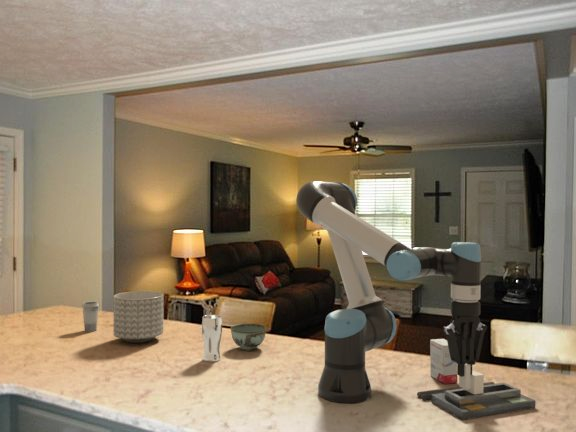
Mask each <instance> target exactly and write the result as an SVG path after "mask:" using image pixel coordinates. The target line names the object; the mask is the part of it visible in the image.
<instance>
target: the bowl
mask: <svg viewBox="0 0 576 432" xmlns="http://www.w3.org/2000/svg"><path fill="white" fill-rule="evenodd" d="M229 330H230V333H231V338H232V340H233V341H234V343H235V345H236V346H238V347H239V349H240V350H241V351H244V352H245V351H246V352H247V351H248V352H250V351H255V350H257V347H259V346H260V345H261V344H262V343H263V342H264V340H265V338H266V333H267V327H266V326H265V325H264V324H261V323H260V324H259V323H241V324H235V325H232V326H231V327H230V329H229Z"/></svg>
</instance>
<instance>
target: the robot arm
mask: <svg viewBox="0 0 576 432" xmlns="http://www.w3.org/2000/svg"><path fill="white" fill-rule="evenodd" d="M295 201H296V207H297V210H298V211H299V213H300V214H301V215H302V216H303V217H304V218H306V219H307V220H308V221H310V222H311V223H313V224H314V225H316V226H321V228H322V229H324V230H326V231H327V234H328V237H329V240H330V243H331V248H332V249H333V250H332V251H333V254H334V256H335V261H336V263H337V267H338V270H339V273H340V277H341V281H342V284H343V286H344V287H343V288H344V290H345V294H346V298H347V301H348V305H347V306H346V308H344V309H337V310H334V311H331V312H329V313H328V314H327V315H326V317H325V322H324V323H325V324H324V327H323V328H324V366H323V369H322V373H321V376H320V379H319V382H318V384H317V385H318V387H317V388H318V389H317V393H318V395H319V396H320V398H323V399H324V400H328V401H329V402H330V401H331V402H335V403H342V404H355V403H356V404H357V403H361V402H364V401H367V400H369V399H370V398H372V385H371V382H370V379H369V376H368V372H367V370H366V353H367V352H369V351H372V350H376V348H377V349H378V348H381V347H384V346H385V345H386V344H388V343H390V342H391V341H392V340H393V339H394V337H395V335H396V334H397V333H396V332H397V327H398V326H397V320H396V318H395V315H394V313H393V312H392V311H391V310H390V309H388V308H387V307H385V305H384V301H383V299H382V298H380V297H379V296H377V295H376V292H375V289H374V286H373V282H372V279H371V276H370V273H369V269H368V267H367V264H366V261H365V257H364V253H365V254H366V255H368V256H369V257H370V258H373V259H374V260H376V261H377V262H379V263H380V264H381V265H382V266H385V267H386V270H387V271H388V274H389V275H390V277H391V278H393V279H395V280H397V281H411V280H414V279H418V278H423V277H428V276H440V277H450V298H451V299H452V300H450V313H451V319H450V324H449V325H447V326H443V327H442V330H443V332H444V335H445V337H446V340H447V343H448V348H449V353H450V358H451V360H452V361H454V362H456V363H457V376H458V386H459V387H461V388H464V389H466V390H467V389H470V375H472V370H473V365H474V366H475V365H476V362H478V361H479V360H480V356H481V353H482V347H483V342H484V336H485V333H486V331H487V329H488V326H487V325H486V324H483V323H482V322H481V319H480V315H481V302H480V301H479V300H481V284H482V283H481V278H482V277H481V276H482V275H481V274H482V273H481V272H482V269H481V268H482V254H481V245H480V244H479V243H478V242H472V241H471V242H469V241H465V242H463V241H454V242H452V243H451V246H450V248H438V247H427V246H421V247H418V246H417V247H413V248H410V247H409V246H407V245H405V244H403V243H401V241H399V240H397V239H395V238H394V237H391V236H390V235H389V234H388V233H386V232H384V231H382V230H380V229H379V228H377V227H376V226H374V225H372V224H371V223H369V222H368V221H366V220H364V219H363V218H361V217H359V216H358V215H357V214H356V211H357V206H358V197H357V194H356V192H355V191H354V190H353V188H352V187H351V186H350V185H348V184H345V183H342V182H339V181H332V182H331V181H319V180H318V181H317V180H315V181H314V180H312V181H308V182H307V183H305V184H303V185H302V186H301V187H300V189H299V190H298V192H297V193H296V199H295Z"/></svg>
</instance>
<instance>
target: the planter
mask: <svg viewBox="0 0 576 432" xmlns="http://www.w3.org/2000/svg"><path fill="white" fill-rule="evenodd" d="M164 302H165V301H164V293H162V292H159V291H152V290H137V291H136V290H135V291H125V292H119V293H116V294H114V295H113V336H114V337H115V338H118V339H121V340H122V341H125V342H127V343H129V344H144V343H147V342H149V341H153V339H155V338H156V337H158V336H160V335H162V334H163V333H164V305H165V304H164Z"/></svg>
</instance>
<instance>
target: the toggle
mask: <svg viewBox="0 0 576 432" xmlns="http://www.w3.org/2000/svg"><path fill="white" fill-rule="evenodd" d="M484 377H485V375H484V374H483V373H481V372H479V371H476V370H475V369H474V370H473V369H472V375H470V389H467V390H466V389H464V390H465V396H469V395H476V394H482V393H483V386H484V383H485V382H484V380H485V379H484Z"/></svg>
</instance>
